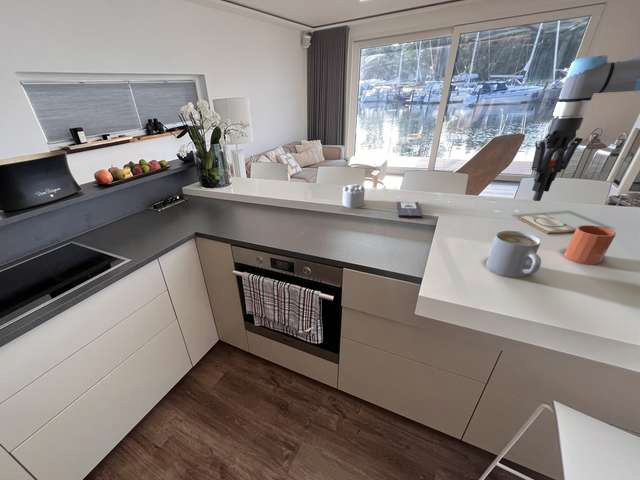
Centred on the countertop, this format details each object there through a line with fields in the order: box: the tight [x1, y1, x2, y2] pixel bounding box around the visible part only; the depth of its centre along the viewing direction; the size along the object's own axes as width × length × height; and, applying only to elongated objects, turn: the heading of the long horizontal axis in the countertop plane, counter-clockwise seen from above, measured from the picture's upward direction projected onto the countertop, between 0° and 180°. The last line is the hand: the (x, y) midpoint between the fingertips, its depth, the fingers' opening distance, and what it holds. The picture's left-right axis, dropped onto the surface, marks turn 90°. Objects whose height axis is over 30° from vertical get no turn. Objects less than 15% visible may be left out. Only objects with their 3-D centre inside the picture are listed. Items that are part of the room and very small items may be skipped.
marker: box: [532, 158, 556, 202], centre depth 100 cm, size 2×2×14 cm
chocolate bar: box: [396, 201, 423, 219], centre depth 129 cm, size 9×1×18 cm
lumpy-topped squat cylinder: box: [342, 183, 366, 209], centre depth 142 cm, size 10×13×9 cm
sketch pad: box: [515, 213, 577, 235], centre depth 106 cm, size 20×16×1 cm
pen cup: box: [563, 224, 617, 266], centre depth 83 cm, size 8×8×9 cm
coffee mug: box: [485, 230, 542, 279], centre depth 80 cm, size 13×10×10 cm
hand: (540, 190), depth 102 cm, fingers closed on marker, 2 cm apart
